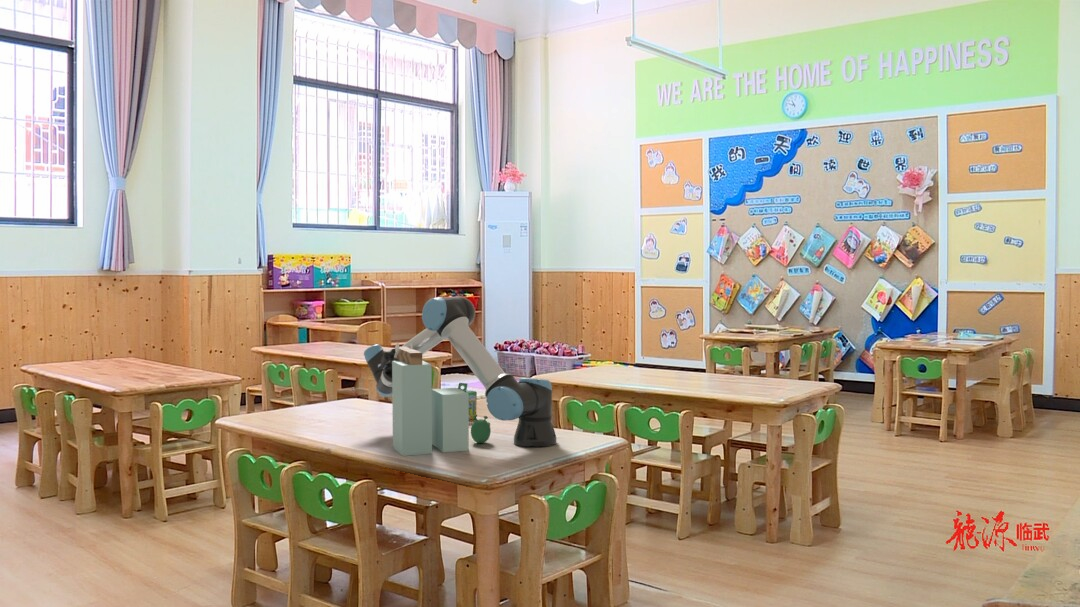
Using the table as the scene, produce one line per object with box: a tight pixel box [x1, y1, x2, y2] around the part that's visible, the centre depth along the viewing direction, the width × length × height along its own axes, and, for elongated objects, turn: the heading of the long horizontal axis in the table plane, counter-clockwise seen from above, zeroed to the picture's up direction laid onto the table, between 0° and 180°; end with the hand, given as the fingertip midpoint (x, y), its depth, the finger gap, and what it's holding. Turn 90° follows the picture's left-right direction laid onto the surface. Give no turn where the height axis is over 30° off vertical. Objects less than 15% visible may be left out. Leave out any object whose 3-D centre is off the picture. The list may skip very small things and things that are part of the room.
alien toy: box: [470, 414, 491, 444], centre depth 315 cm, size 7×8×10 cm
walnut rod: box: [396, 346, 423, 365], centre depth 305 cm, size 24×4×4 cm, turn 22°
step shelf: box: [391, 360, 470, 457], centre depth 304 cm, size 16×23×30 cm
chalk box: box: [457, 382, 478, 421], centre depth 364 cm, size 9×9×15 cm
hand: (404, 346), depth 310 cm, fingers closed on walnut rod, 4 cm apart
